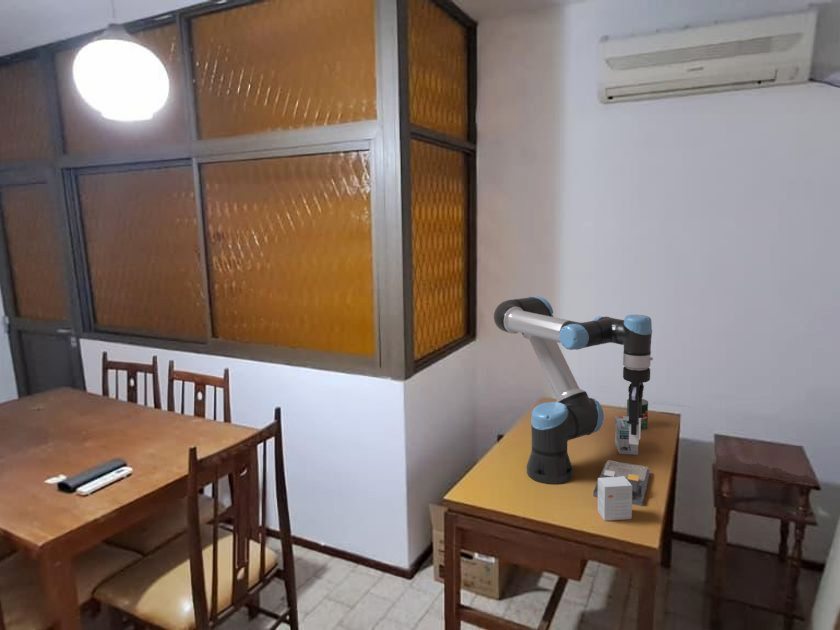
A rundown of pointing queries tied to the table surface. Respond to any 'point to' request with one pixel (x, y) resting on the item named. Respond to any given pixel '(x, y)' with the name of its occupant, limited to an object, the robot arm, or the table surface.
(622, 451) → the light bulb box
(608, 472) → the block
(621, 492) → the small box
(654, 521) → the table surface
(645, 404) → the canned tomato
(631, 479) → the block
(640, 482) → the panel
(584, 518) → the table surface
